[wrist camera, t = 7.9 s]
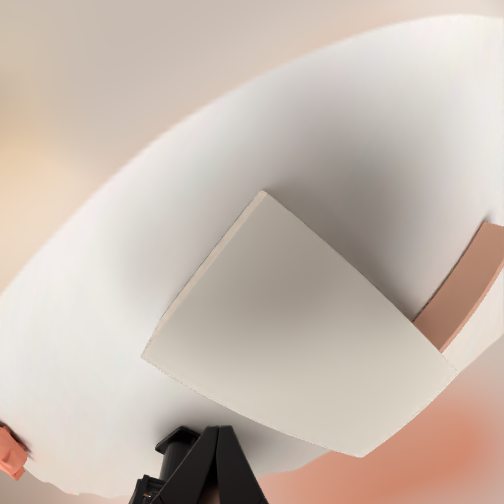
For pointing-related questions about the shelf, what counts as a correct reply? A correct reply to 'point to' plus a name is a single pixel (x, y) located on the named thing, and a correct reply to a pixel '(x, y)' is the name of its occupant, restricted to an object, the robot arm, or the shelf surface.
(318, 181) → the shelf surface
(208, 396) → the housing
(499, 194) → the shelf surface
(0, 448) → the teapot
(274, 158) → the shelf surface
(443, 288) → the side door
